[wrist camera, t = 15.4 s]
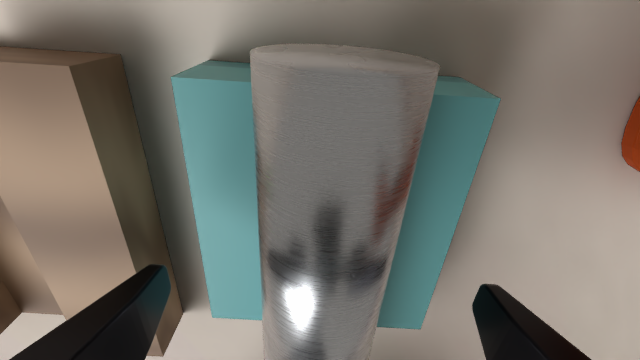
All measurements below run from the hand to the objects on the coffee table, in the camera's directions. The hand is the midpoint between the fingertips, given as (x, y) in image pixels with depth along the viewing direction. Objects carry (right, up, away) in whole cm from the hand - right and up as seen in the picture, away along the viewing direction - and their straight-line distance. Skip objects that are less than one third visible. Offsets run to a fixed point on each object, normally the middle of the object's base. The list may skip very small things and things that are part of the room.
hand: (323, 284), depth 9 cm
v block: (0, +3, +5) cm, 5 cm away
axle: (0, 0, +1) cm, 1 cm away
